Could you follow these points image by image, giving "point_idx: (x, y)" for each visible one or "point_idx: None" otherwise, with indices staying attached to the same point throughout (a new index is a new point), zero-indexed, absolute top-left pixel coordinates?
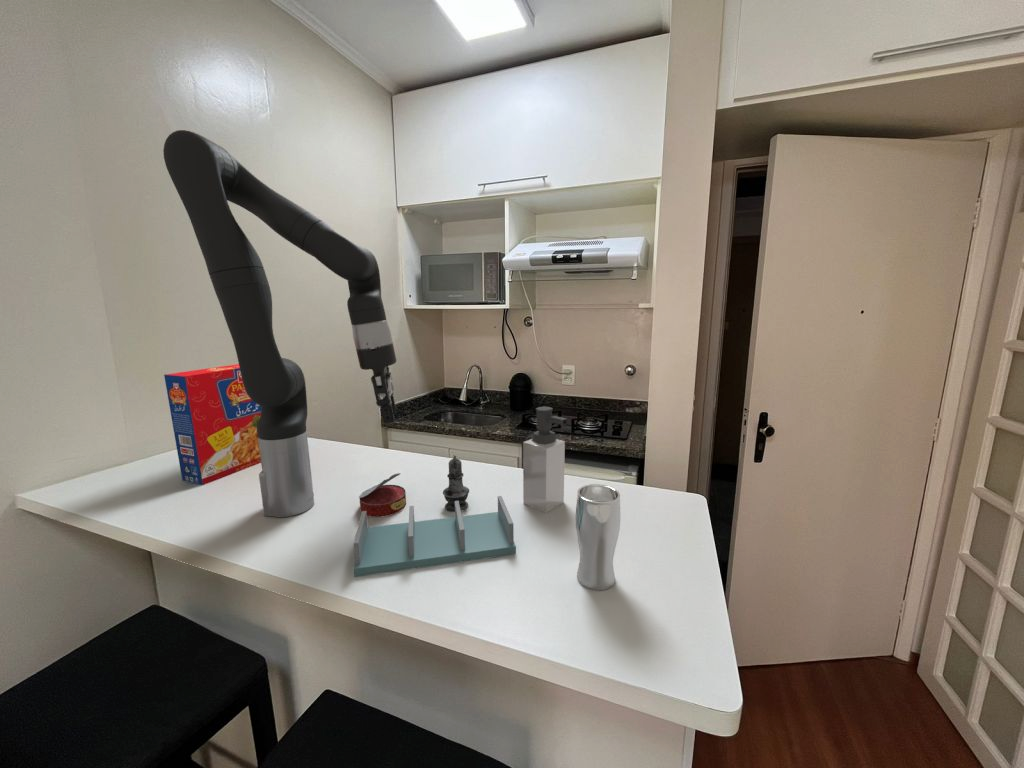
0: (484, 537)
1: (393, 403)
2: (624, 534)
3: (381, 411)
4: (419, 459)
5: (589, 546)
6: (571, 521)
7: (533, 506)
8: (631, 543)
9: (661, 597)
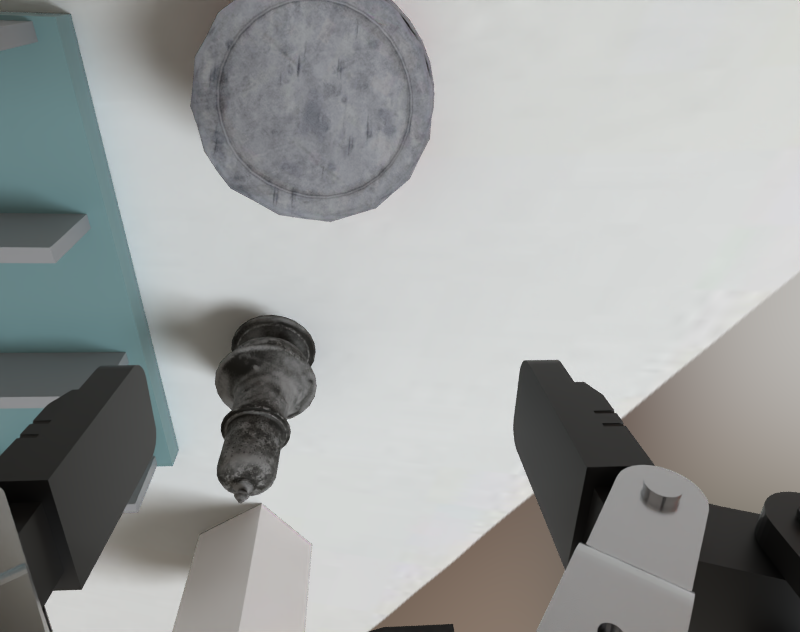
0: (14, 413)
1: (537, 489)
2: (90, 623)
3: (33, 444)
4: (779, 239)
5: None
6: (150, 566)
7: (231, 520)
8: (54, 623)
9: None
